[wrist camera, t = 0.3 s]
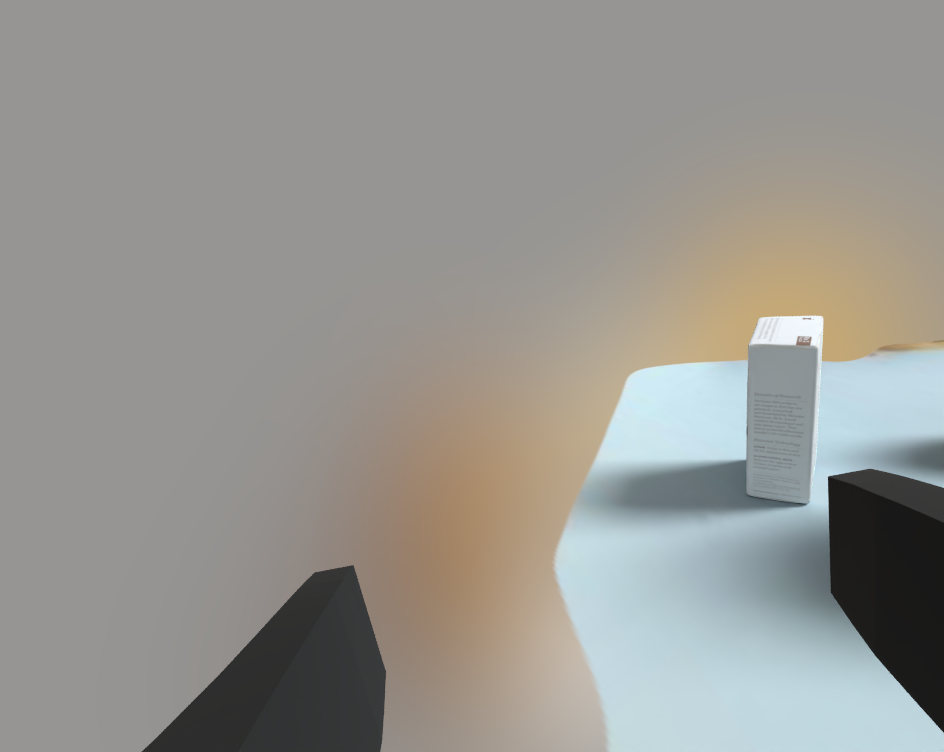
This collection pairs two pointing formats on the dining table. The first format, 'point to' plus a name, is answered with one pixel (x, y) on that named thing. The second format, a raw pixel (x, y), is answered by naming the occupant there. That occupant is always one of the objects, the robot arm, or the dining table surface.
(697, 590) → the dining table surface
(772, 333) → the skincare box
